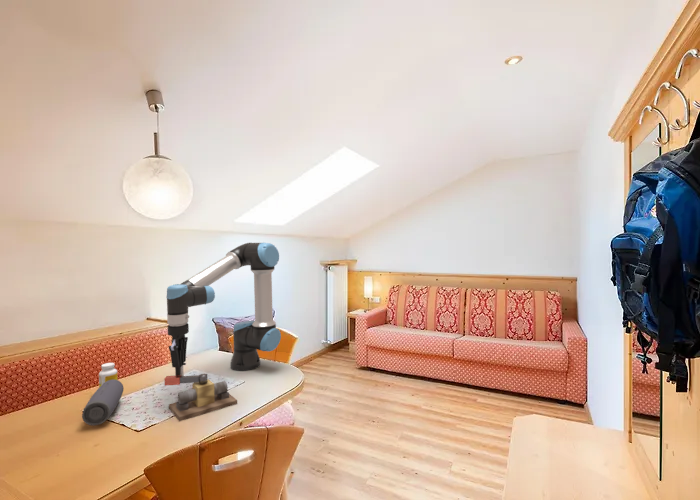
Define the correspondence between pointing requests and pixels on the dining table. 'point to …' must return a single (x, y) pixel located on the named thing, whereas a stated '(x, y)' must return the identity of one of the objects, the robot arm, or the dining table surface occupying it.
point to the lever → (185, 379)
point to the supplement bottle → (107, 373)
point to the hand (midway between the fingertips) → (179, 382)
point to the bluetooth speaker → (103, 402)
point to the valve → (202, 400)
